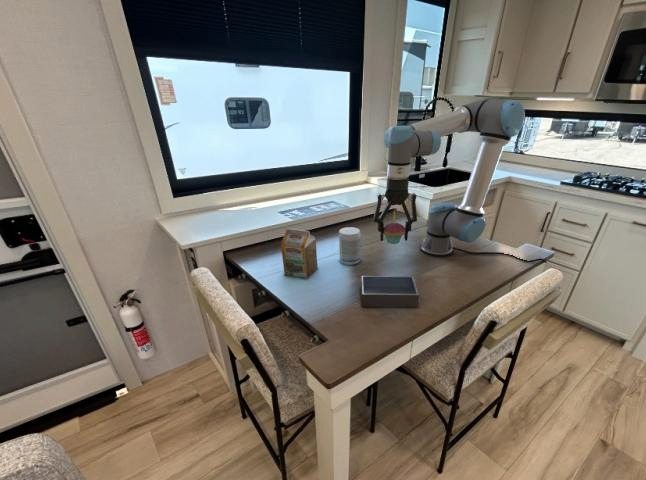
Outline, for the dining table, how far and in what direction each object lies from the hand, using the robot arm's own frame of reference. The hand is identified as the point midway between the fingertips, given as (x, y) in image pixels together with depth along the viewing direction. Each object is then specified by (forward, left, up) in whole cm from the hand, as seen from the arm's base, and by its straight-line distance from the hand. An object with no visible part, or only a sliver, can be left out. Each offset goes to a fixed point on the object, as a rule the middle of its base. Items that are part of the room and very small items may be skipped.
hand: (393, 239), depth 122 cm
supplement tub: (+17, -19, -19) cm, 32 cm away
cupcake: (0, 0, -1) cm, 1 cm away
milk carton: (+38, -8, -19) cm, 43 cm away
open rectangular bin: (+2, +12, -19) cm, 22 cm away
